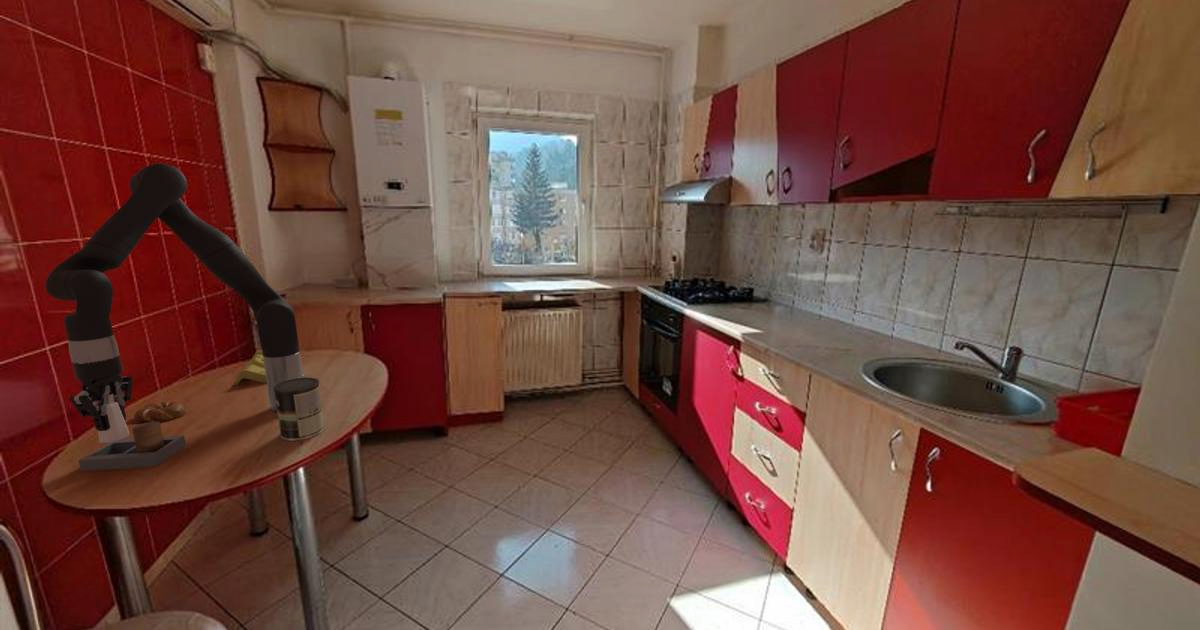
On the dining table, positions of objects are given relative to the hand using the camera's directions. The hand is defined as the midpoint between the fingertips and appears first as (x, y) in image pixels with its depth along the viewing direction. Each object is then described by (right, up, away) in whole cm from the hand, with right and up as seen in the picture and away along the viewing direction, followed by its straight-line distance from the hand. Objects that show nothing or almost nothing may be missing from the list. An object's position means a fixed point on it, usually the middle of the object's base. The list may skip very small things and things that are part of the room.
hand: (111, 425), depth 109 cm
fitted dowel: (+7, -8, +3) cm, 11 cm away
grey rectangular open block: (+4, -9, +2) cm, 10 cm away
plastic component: (-8, +3, +60) cm, 61 cm away
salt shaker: (0, -3, +1) cm, 3 cm away
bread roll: (-13, -4, +26) cm, 30 cm away
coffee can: (+34, -6, +18) cm, 39 cm away
